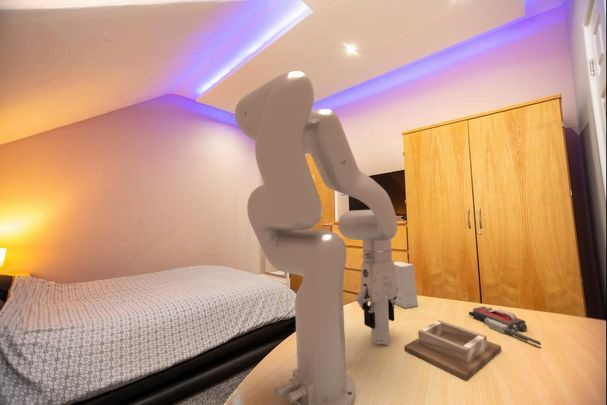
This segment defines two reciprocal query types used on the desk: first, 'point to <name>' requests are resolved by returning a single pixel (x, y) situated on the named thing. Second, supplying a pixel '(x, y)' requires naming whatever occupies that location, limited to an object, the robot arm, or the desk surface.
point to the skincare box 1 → (381, 323)
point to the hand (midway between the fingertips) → (379, 322)
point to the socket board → (453, 349)
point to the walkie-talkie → (502, 322)
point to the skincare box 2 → (405, 285)
